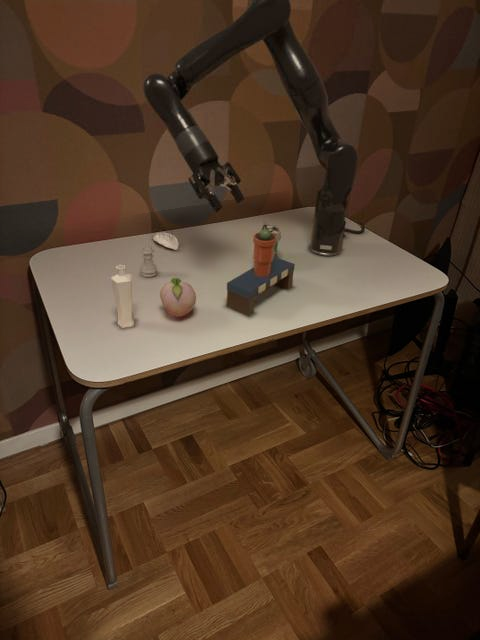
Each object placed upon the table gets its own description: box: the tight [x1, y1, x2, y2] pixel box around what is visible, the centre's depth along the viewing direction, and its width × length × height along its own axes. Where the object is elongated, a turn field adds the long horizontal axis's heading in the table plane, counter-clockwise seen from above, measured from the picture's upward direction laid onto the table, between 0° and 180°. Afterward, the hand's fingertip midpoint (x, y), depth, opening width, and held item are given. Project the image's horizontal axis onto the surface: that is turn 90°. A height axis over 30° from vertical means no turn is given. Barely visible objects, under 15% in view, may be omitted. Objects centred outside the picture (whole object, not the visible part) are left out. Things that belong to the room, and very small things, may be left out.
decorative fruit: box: [159, 277, 197, 317], centre depth 120 cm, size 9×8×10 cm
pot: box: [252, 228, 277, 277], centre depth 125 cm, size 6×6×12 cm
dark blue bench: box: [226, 256, 296, 317], centre depth 130 cm, size 20×7×7 cm, turn 142°
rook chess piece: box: [140, 245, 158, 278], centre depth 138 cm, size 4×4×8 cm
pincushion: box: [152, 225, 180, 251], centre depth 155 cm, size 12×6×6 cm, turn 38°
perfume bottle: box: [110, 264, 135, 329], centre depth 115 cm, size 5×4×15 cm
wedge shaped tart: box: [261, 221, 282, 257], centre depth 147 cm, size 12×6×10 cm, turn 168°
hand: (230, 205), depth 125 cm, fingers open, 8 cm apart
